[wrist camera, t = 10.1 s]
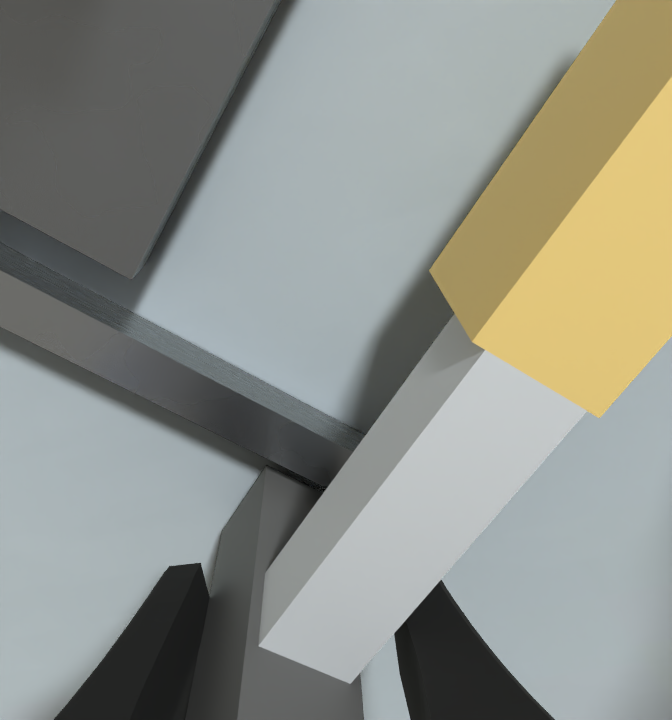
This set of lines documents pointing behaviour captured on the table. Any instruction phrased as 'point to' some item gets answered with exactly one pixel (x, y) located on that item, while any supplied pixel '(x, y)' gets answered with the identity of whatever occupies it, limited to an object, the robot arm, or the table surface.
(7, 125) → the press base
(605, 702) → the table surface
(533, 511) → the table surface
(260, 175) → the table surface
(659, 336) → the lever with yellow grip
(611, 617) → the table surface
